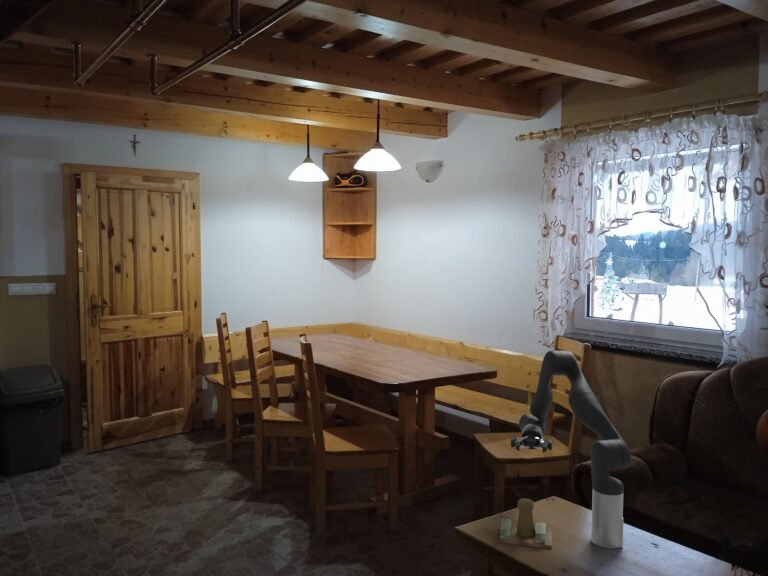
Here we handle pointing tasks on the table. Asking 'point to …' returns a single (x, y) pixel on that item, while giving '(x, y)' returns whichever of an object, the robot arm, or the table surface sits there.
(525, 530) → the cork
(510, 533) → the endcap cradle
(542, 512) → the table surface
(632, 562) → the table surface
